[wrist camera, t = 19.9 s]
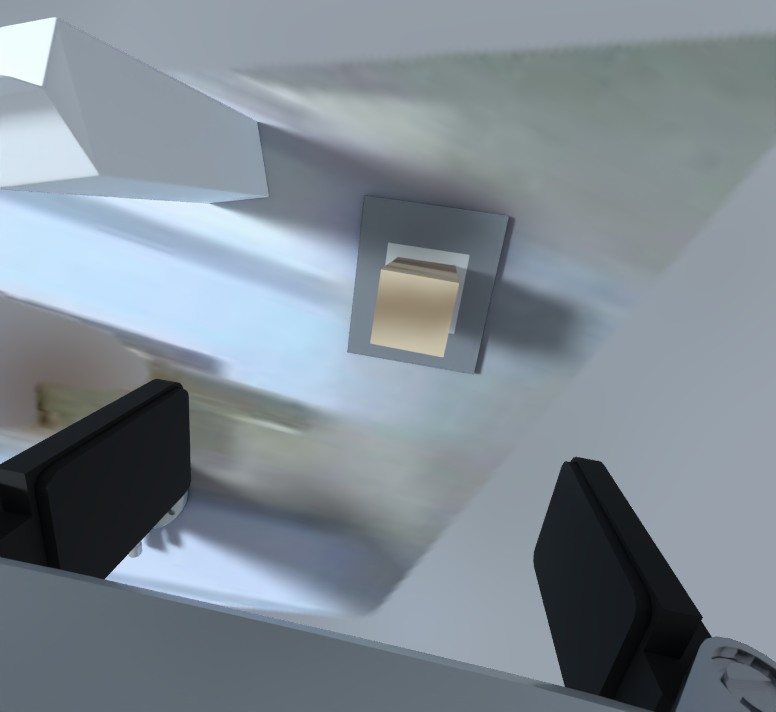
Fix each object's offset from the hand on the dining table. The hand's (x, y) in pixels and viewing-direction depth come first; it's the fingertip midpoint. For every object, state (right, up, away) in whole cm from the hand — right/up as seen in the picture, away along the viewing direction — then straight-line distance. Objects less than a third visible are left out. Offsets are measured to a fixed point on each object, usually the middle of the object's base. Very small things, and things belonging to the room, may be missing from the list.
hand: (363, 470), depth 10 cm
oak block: (+3, +7, +21) cm, 23 cm away
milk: (-13, +19, +26) cm, 35 cm away
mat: (+4, +9, +27) cm, 28 cm away
